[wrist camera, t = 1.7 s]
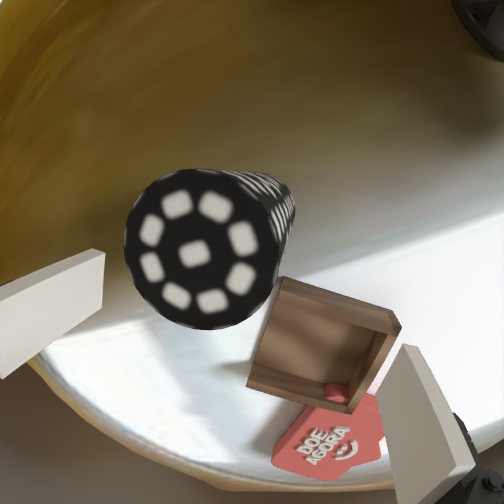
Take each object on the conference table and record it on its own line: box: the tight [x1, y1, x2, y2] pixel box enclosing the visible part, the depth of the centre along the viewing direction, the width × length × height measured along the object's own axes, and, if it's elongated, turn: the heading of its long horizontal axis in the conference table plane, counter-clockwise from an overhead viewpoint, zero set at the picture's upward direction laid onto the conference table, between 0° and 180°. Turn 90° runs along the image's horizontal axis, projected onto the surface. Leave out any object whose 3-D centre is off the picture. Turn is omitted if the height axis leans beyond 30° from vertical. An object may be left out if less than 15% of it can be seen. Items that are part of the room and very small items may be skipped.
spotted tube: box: [124, 169, 295, 330], centre depth 25 cm, size 8×8×20 cm
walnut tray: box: [246, 276, 402, 415], centre depth 35 cm, size 13×14×4 cm
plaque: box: [271, 383, 385, 481], centre depth 37 cm, size 18×4×15 cm
